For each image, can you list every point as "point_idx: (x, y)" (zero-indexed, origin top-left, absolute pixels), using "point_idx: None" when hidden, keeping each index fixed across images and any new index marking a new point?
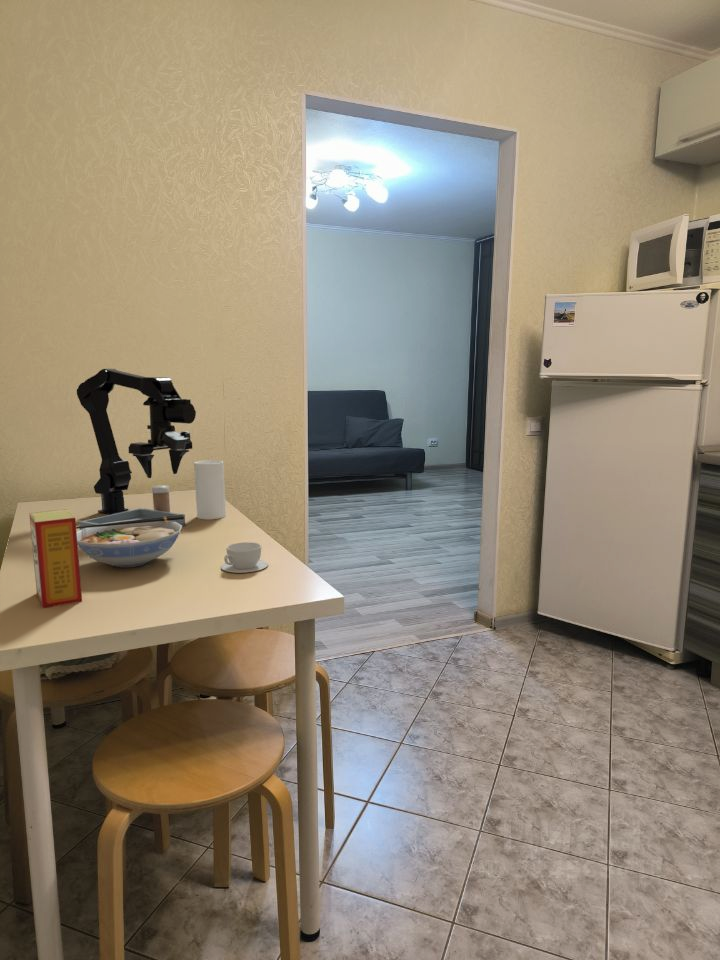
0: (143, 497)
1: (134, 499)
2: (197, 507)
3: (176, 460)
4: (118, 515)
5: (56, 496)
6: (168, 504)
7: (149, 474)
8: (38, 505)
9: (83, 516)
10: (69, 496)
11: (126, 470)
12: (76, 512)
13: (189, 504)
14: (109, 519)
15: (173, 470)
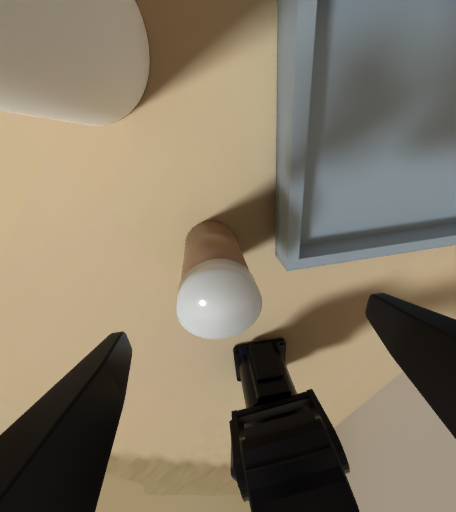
0: (125, 430)
1: (151, 424)
2: (136, 53)
3: (25, 504)
4: (379, 244)
5: (231, 481)
6: (201, 238)
7: (418, 306)
8: None
9: (320, 357)
10: (219, 476)
11: (272, 487)
12: (299, 389)
13: (59, 314)
14: (405, 236)
15: (122, 372)
